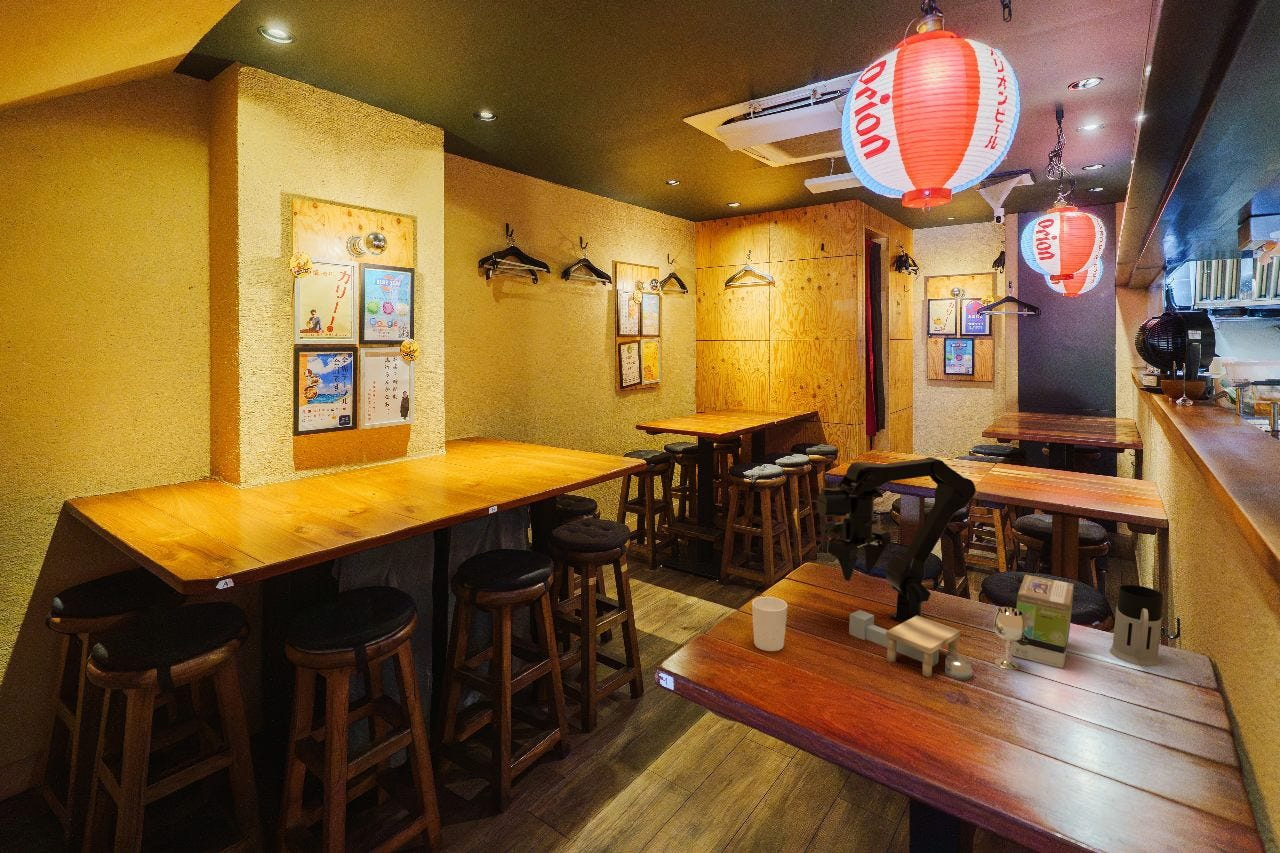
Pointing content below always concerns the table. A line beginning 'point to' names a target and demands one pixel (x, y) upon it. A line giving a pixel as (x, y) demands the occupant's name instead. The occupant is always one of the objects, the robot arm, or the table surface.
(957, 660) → the steel puck
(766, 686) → the table surface
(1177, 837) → the table surface
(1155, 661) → the glass holder
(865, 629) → the gray hammer
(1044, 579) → the tea box
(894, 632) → the hinoki shelf
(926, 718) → the table surface
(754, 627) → the white cup
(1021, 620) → the wineglass
